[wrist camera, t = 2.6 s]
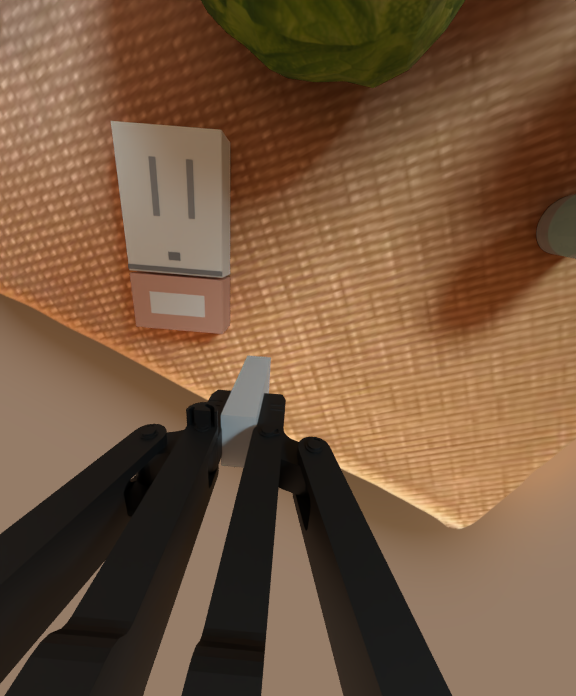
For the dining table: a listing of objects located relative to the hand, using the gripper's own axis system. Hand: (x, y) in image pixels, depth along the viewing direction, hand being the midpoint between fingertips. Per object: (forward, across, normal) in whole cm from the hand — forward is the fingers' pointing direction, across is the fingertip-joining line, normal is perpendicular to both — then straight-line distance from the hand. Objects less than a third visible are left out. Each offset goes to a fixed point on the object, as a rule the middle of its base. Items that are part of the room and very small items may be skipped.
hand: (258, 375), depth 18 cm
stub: (+17, -11, +1) cm, 21 cm away
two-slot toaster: (+17, -11, +11) cm, 23 cm away
